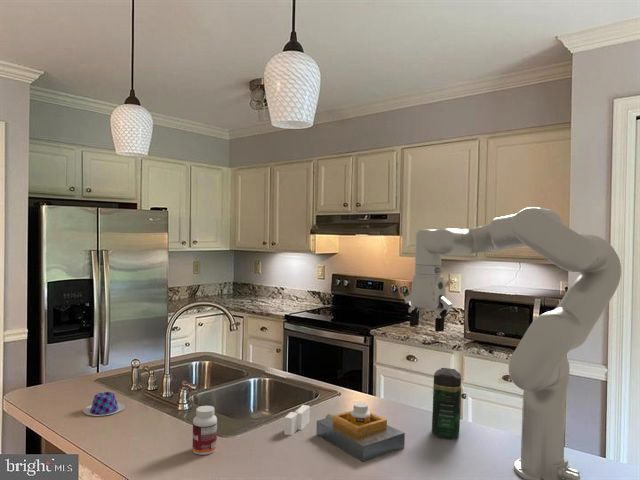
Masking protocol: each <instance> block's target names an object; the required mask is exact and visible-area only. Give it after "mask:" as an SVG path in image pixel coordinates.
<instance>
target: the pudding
mask: <svg viewBox="0 0 640 480" xmlns="http://www.w3.org/2000/svg"><path fill="white" fill-rule="evenodd" d="M125 406H126V405H125V404H123V403H121V402H118V401H117V398H116V394H115V393H114V392H112V391H103V392H99V393H97V394H94V397H93V400H92V404H90V405H87V407H85V408H84V409H83V410H82V411H83V414H84V415H85V414H86V415H87V416H92V417H93V416H94V417H95V416H97V417H99V416H110V415H114V414H116V413H120V412H121V411H122V410H124V409H125Z"/></svg>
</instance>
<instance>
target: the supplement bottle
mask: <svg viewBox="0 0 640 480" xmlns="http://www.w3.org/2000/svg"><path fill="white" fill-rule="evenodd" d="M350 411H351V415H350V422H351V423H353V424H355V425H357V426H361V425H364V424H368V423H370V412H371V411H369V405H368V403H366V402H363V401H361V402H355V403H353V409H351V410H350Z"/></svg>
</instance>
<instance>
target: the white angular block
mask: <svg viewBox="0 0 640 480" xmlns="http://www.w3.org/2000/svg"><path fill="white" fill-rule="evenodd" d="M310 416H311V405H305V404H302V405H301V406H300V407H298V409H296V410H295V411H294V412H293V411H290V412H289V413H287V415H285V417H284V421H283V423H284V425H283V426H284V428H283V434H284V435H287V436H293V435H294V434H295V433H296V432H297V431H298V430H299V431H302V430H303V429H304V428H305V427H306V426H307V425H308V424H309V423H310V418H311V417H310Z"/></svg>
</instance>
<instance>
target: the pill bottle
mask: <svg viewBox="0 0 640 480" xmlns="http://www.w3.org/2000/svg"><path fill="white" fill-rule="evenodd" d="M195 414H196V416H194V418H193V420H192V445H191V446H192V452H193V453H194V454H196V455H200V456H205V455H210V454H213V453H214V452H216V450H217V446H218V444H217V440H218V439H217V438H218V418H217V415H215V407H214V406H212V405H201V406H198V407H197V408H196V409H195Z"/></svg>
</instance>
